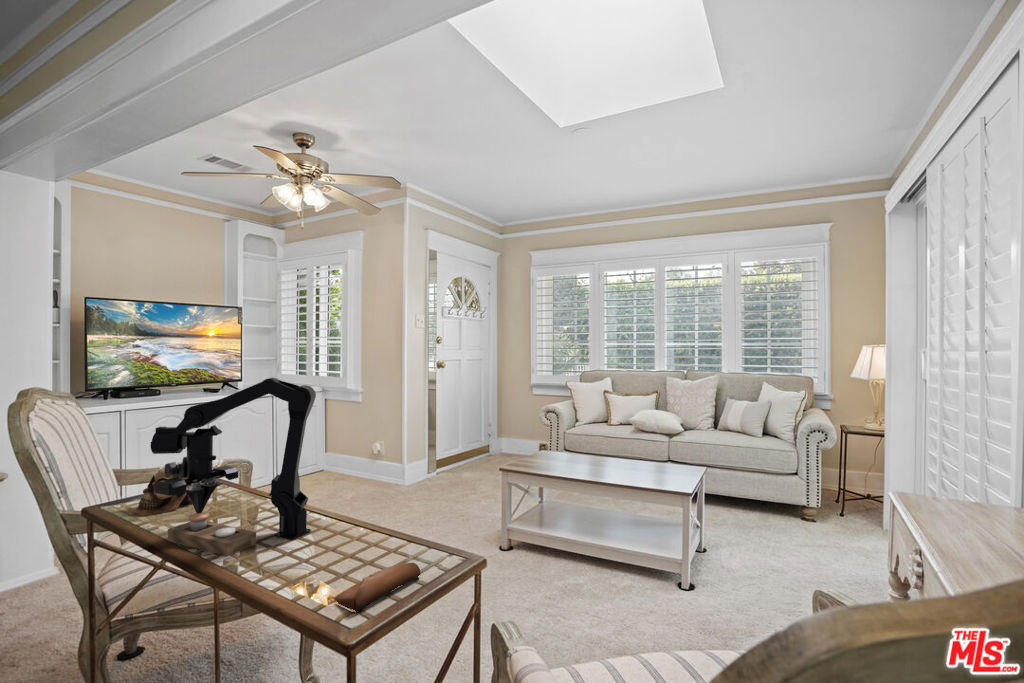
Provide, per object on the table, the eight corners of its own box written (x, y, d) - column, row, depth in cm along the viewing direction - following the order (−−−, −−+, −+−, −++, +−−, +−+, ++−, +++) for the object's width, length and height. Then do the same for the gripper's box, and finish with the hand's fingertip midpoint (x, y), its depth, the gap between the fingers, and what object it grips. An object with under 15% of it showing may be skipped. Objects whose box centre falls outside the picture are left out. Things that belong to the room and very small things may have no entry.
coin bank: (126, 516, 146) (132, 468, 147) (159, 503, 163) (164, 461, 164) (185, 516, 148) (190, 469, 150) (211, 503, 165) (215, 462, 167)
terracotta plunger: (212, 527, 131) (212, 513, 131) (195, 533, 127) (196, 519, 127) (201, 524, 133) (201, 511, 133) (184, 530, 129) (184, 516, 129)
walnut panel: (256, 544, 128) (256, 532, 128) (227, 556, 120) (227, 543, 120) (197, 530, 136) (198, 519, 136) (167, 540, 129) (167, 529, 129)
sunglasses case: (392, 568, 115) (404, 546, 113) (412, 591, 112) (424, 569, 110) (326, 602, 99) (338, 578, 98) (347, 630, 96) (360, 605, 94)
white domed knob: (239, 543, 127) (239, 529, 127) (223, 550, 123) (223, 535, 123) (227, 540, 129) (227, 526, 129) (210, 546, 125) (211, 532, 125)
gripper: (212, 443, 142) (211, 498, 142) (141, 456, 125) (140, 519, 125) (240, 447, 138) (239, 504, 138) (170, 461, 120) (169, 526, 120)
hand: (199, 513), depth 130 cm, fingers closed
